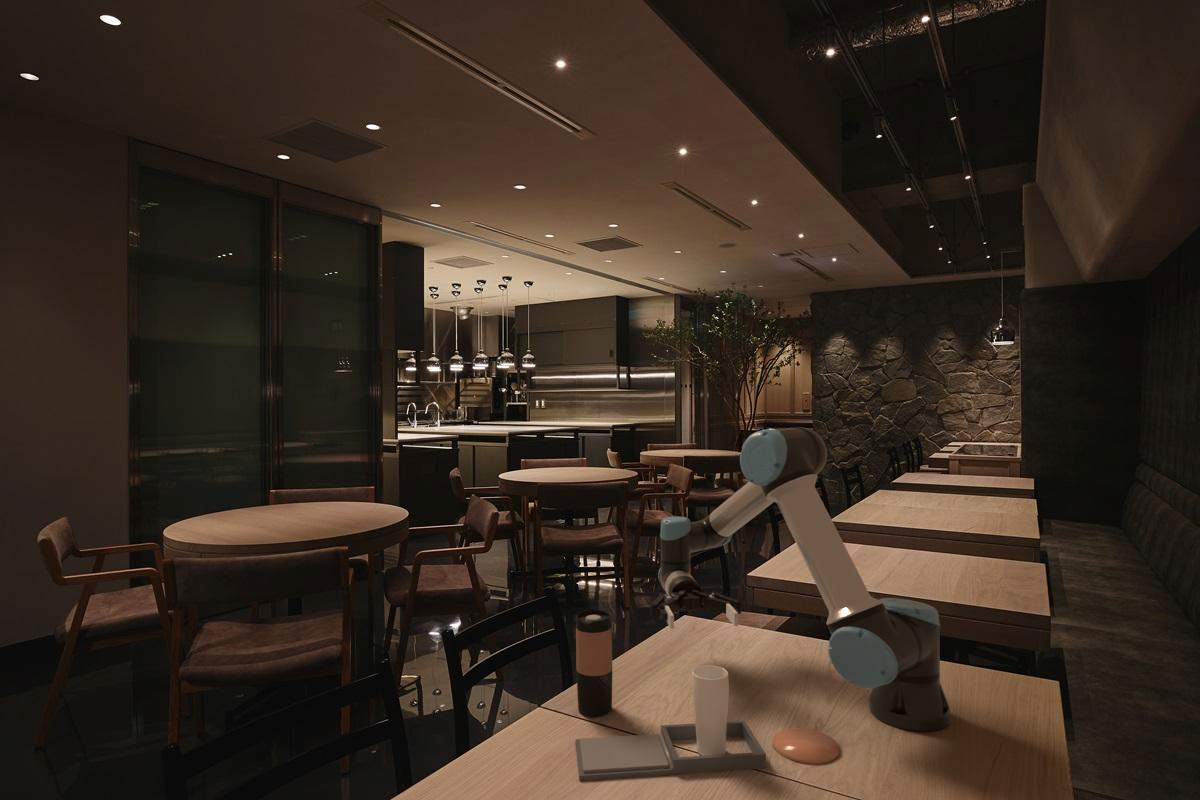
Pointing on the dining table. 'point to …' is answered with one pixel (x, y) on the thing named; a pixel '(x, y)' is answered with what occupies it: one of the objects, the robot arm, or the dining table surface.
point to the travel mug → (594, 662)
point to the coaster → (805, 745)
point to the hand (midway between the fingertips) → (704, 620)
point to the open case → (661, 754)
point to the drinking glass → (710, 708)
